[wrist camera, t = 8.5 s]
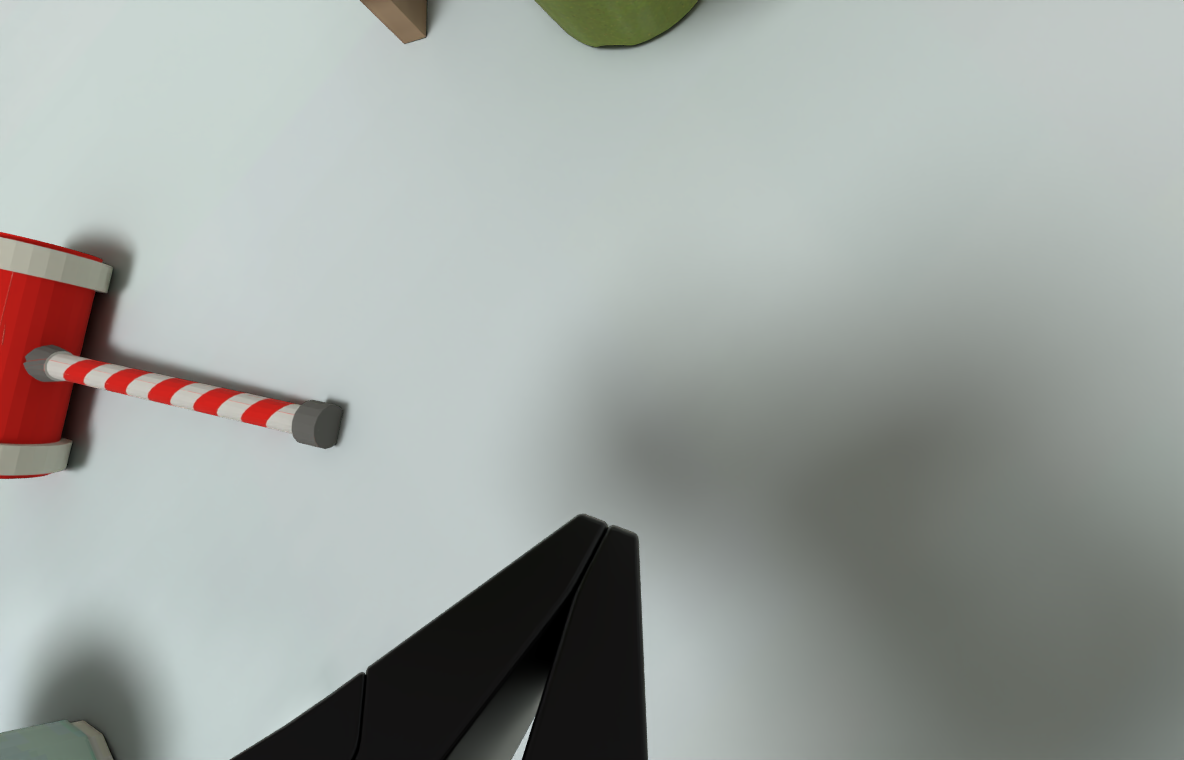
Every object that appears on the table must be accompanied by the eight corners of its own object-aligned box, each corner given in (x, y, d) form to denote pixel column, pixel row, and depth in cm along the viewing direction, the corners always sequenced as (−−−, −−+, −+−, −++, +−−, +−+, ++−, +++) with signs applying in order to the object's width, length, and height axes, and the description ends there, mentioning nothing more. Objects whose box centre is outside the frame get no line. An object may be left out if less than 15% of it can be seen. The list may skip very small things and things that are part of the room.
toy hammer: (376, 301, 27) (252, 258, 21) (320, 561, 27) (177, 591, 21) (71, 257, 36) (-78, 218, 30) (23, 454, 35) (-138, 454, 29)
